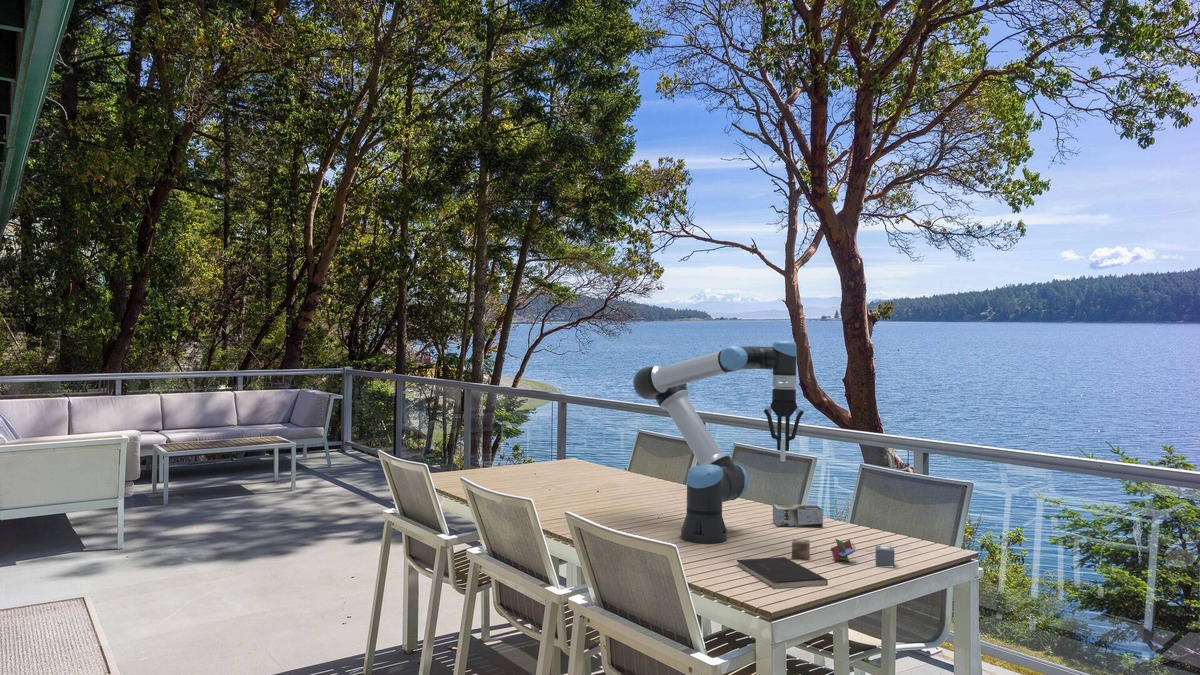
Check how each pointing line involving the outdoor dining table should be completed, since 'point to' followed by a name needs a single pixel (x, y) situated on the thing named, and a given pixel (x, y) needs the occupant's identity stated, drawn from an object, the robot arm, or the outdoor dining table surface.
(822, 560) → the outdoor dining table surface
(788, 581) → the hardcover book
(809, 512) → the coffee box
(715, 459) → the robot arm
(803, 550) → the walnut dotted block
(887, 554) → the charcoal dotted block
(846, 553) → the geometric puzzle
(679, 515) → the outdoor dining table surface
